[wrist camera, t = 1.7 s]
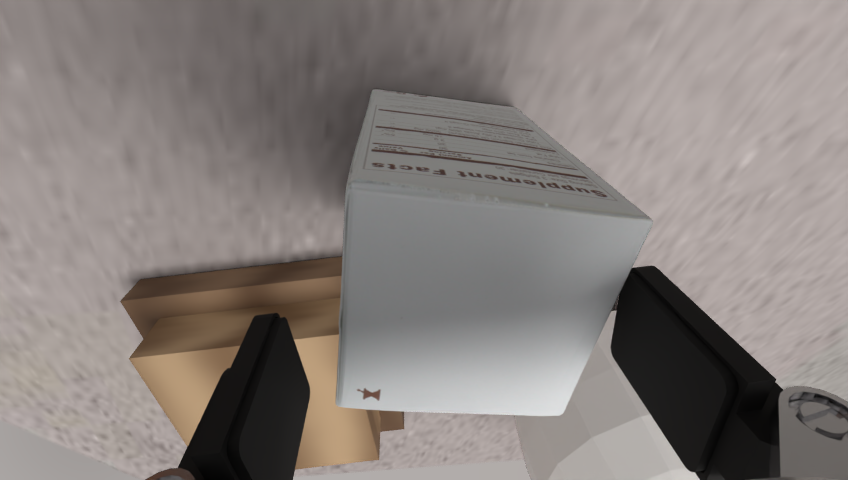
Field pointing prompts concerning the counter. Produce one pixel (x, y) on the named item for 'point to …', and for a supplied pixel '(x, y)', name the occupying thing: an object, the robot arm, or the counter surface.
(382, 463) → the counter surface
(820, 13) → the counter surface
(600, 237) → the supplement box
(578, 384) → the white vase
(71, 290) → the counter surface
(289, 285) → the plinth
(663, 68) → the counter surface
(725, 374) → the robot arm
